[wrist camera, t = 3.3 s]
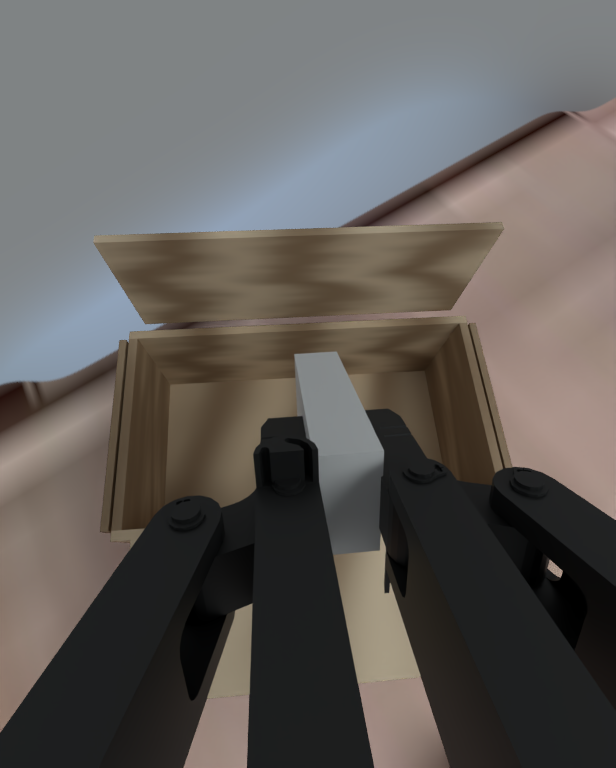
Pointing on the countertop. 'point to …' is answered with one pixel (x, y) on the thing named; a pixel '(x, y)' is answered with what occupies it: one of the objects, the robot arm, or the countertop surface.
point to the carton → (278, 399)
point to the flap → (296, 270)
